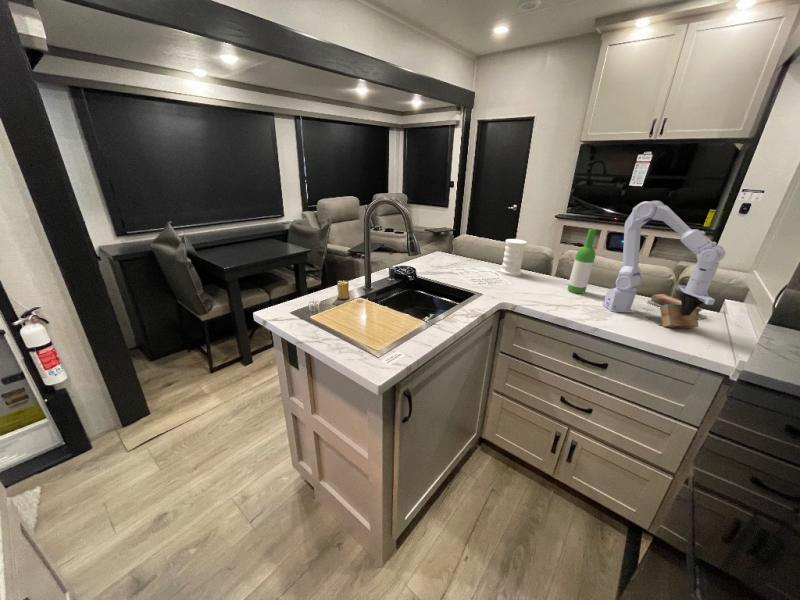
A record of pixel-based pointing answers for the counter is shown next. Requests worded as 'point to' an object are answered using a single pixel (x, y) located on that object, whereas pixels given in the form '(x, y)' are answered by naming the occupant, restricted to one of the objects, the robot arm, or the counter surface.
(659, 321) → the rubber mat
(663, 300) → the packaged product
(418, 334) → the counter surface
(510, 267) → the decorative container
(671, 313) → the brown box
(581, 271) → the wine bottle
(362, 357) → the counter surface
